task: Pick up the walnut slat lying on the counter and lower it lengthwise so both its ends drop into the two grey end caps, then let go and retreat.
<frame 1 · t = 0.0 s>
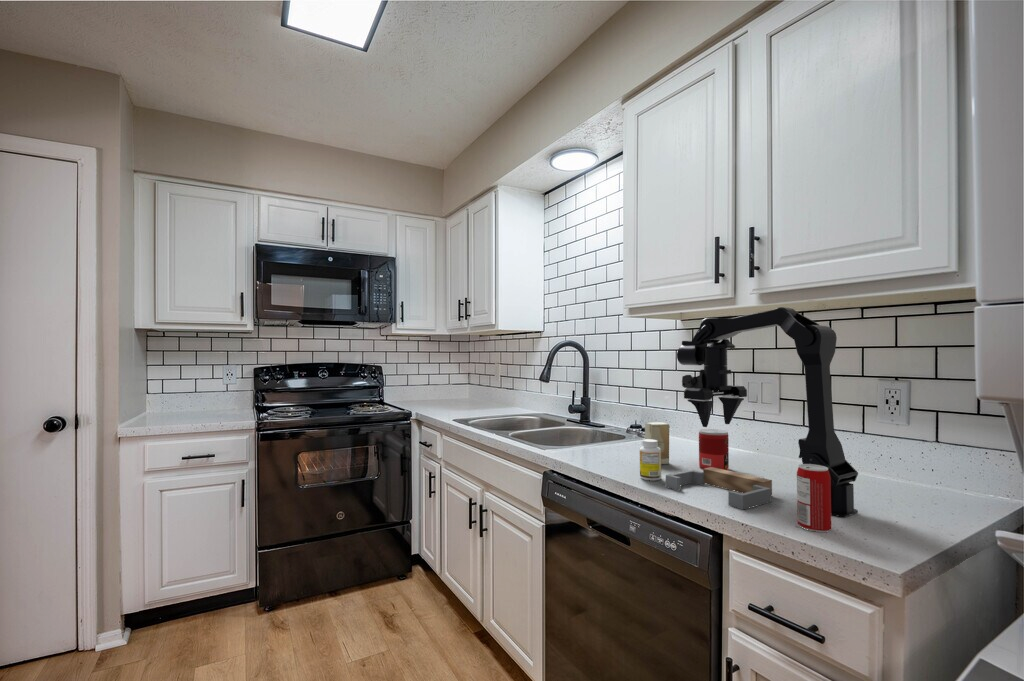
hand: (716, 425, 129), 15 cm above the worktop, tool pointing down, fingers open, 9 cm apart
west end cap: (755, 504, 109), on the worktop
soda can: (814, 529, 95), on the worktop
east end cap: (681, 484, 126), on the worktop
canned food: (713, 469, 143), on the worktop
slat: (736, 490, 122), on the worktop
skincare box: (657, 463, 151), on the worktop
supplement bottle: (650, 479, 132), on the worktop
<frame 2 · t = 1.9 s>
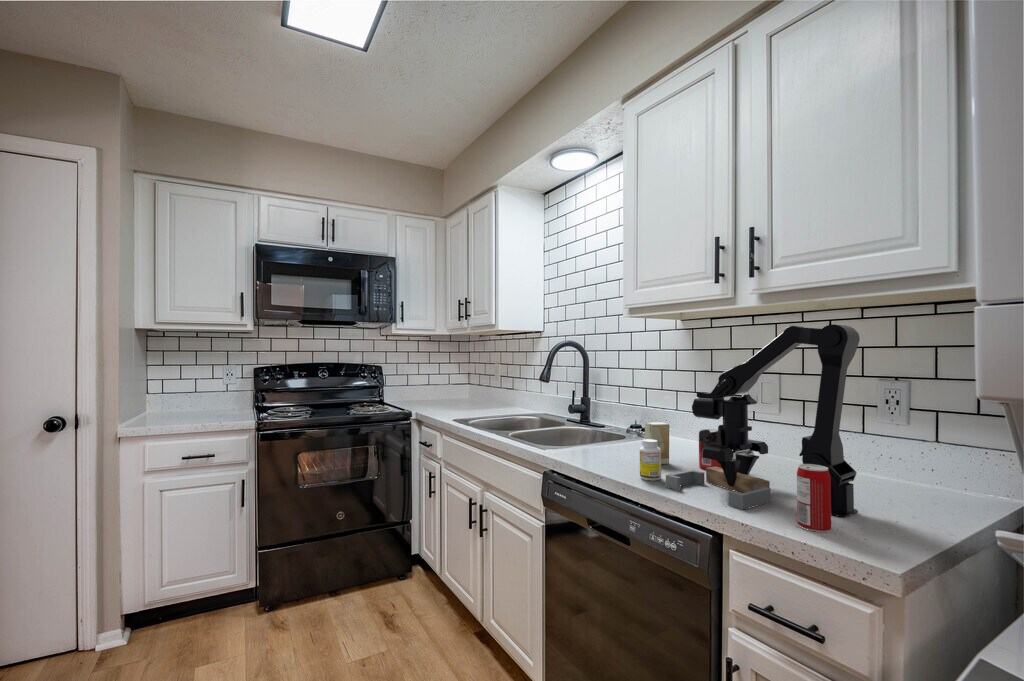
hand: (736, 485, 122), 1 cm above the worktop, tool pointing down, fingers closed on slat, 4 cm apart
slat: (736, 490, 122), on the worktop, touching gripper
everything else where it was.
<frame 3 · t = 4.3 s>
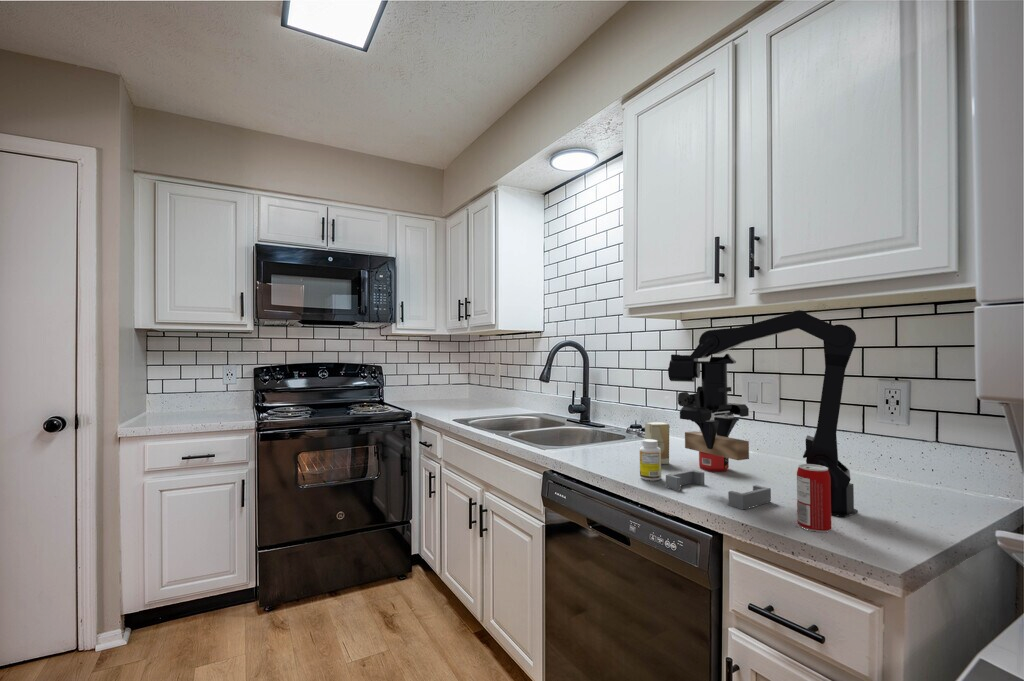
hand: (715, 448, 118), 11 cm above the worktop, tool pointing down, fingers closed on slat, 4 cm apart
slat: (715, 453, 118), point 10 cm above the worktop, touching gripper
everything else where it was.
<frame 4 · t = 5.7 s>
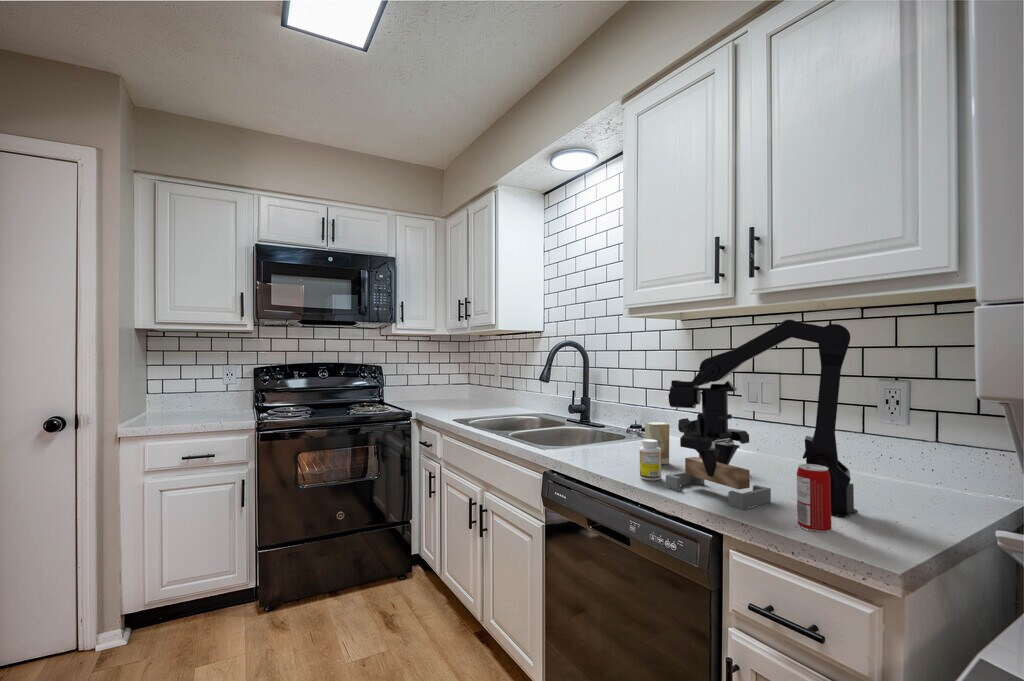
hand: (715, 475, 118), 4 cm above the worktop, tool pointing down, fingers closed on slat, 4 cm apart
slat: (715, 480, 118), point 3 cm above the worktop, touching gripper
everything else where it was.
when the fingers open (2 cm above the worktop, at t = 6.5 s): slat drops 2 cm, on the worktop.
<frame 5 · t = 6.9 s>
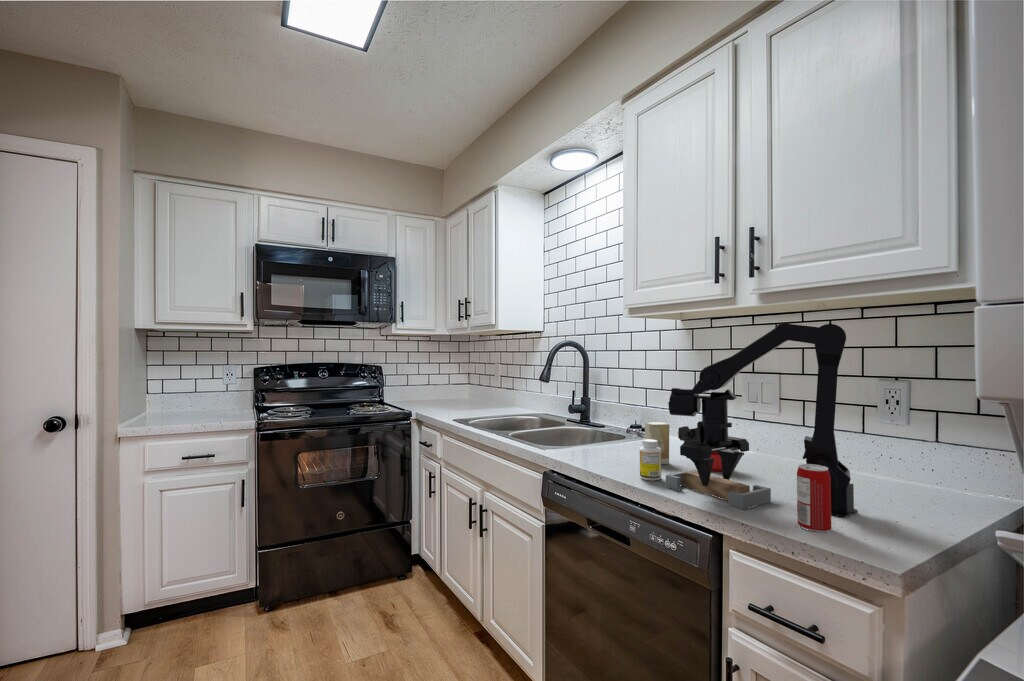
hand: (715, 483, 118), 2 cm above the worktop, tool pointing down, fingers open, 8 cm apart
slat: (715, 495, 118), on the worktop
everything else where it was.
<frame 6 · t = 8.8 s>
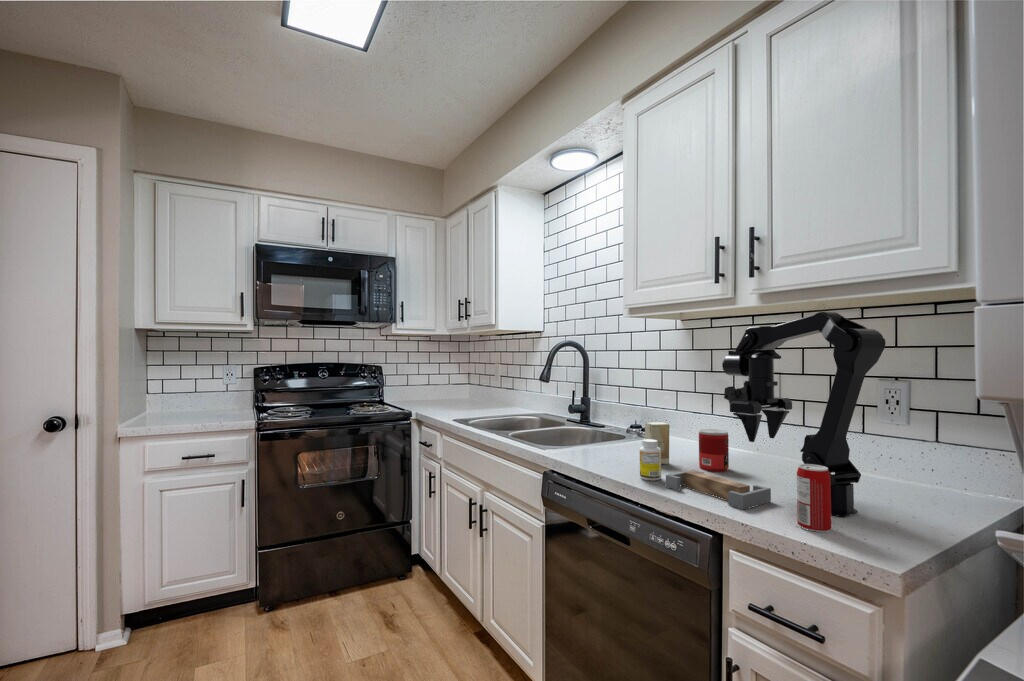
hand: (762, 439, 123), 12 cm above the worktop, tool pointing down, fingers open, 9 cm apart
nothing on the worktop moved.
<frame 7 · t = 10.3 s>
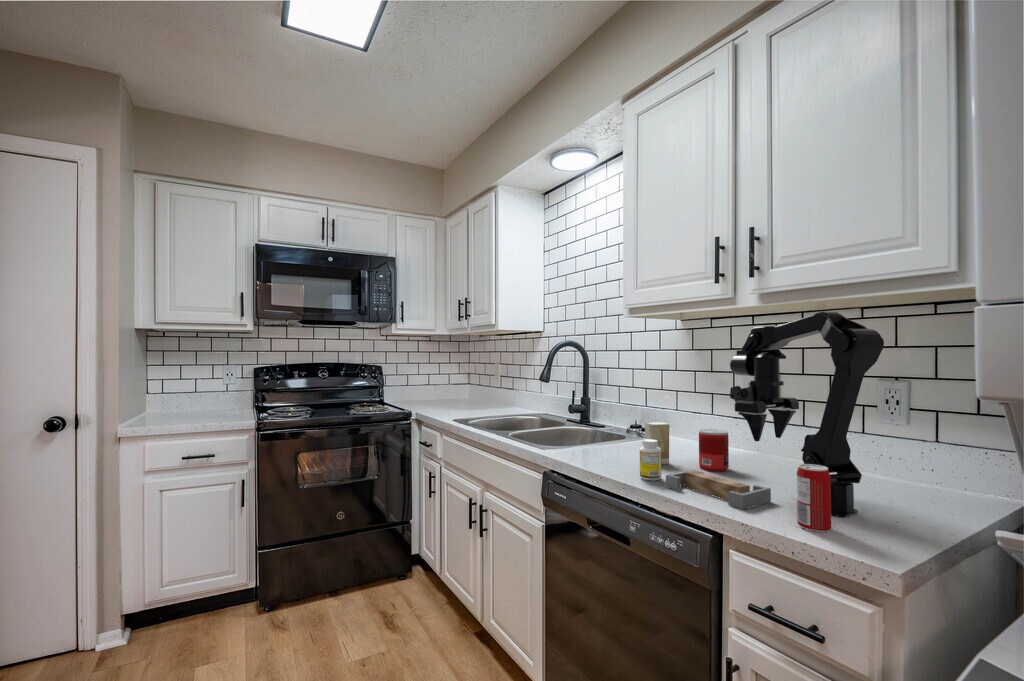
hand: (767, 439, 123), 12 cm above the worktop, tool pointing down, fingers open, 9 cm apart
nothing on the worktop moved.
at the end: slat 0.0 cm from the target spot, on the worktop; slat tilted 0°; the gripper is holding nothing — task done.
